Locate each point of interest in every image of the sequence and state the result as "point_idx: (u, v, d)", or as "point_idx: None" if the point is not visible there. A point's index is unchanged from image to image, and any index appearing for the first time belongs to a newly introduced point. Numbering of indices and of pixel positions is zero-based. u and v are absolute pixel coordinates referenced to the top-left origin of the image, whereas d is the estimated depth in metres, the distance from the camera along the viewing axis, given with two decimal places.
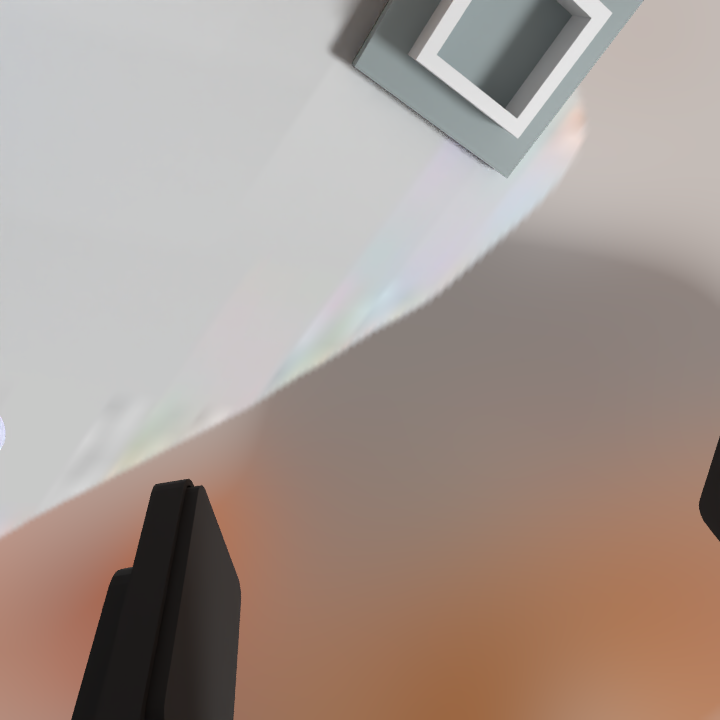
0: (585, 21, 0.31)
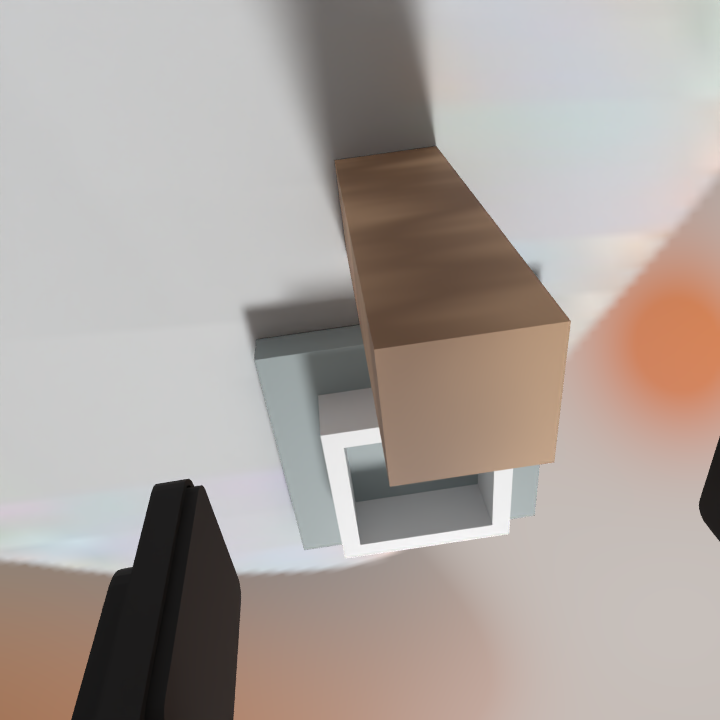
0: (485, 518, 0.26)
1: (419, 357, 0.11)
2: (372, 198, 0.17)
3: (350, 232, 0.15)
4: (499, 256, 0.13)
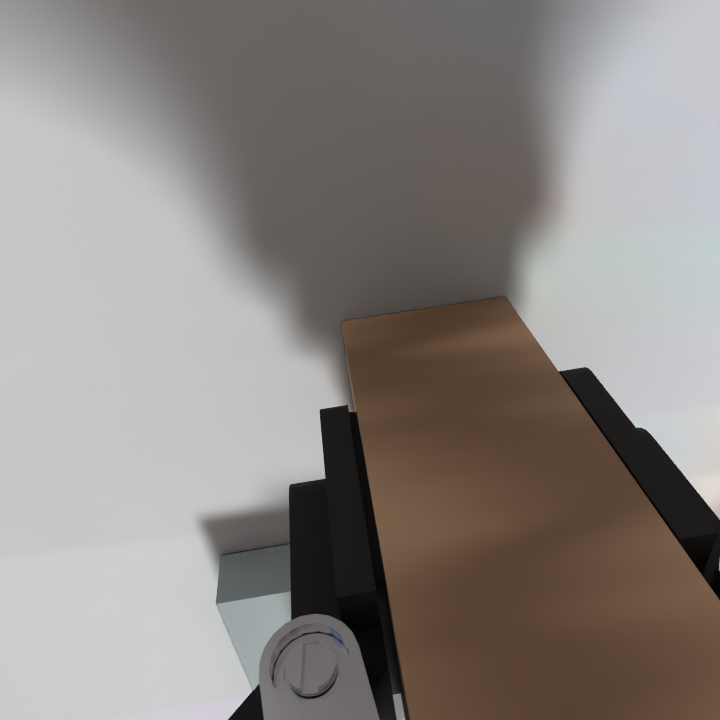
0: None
1: None
2: (418, 448, 0.09)
3: (388, 584, 0.07)
4: None
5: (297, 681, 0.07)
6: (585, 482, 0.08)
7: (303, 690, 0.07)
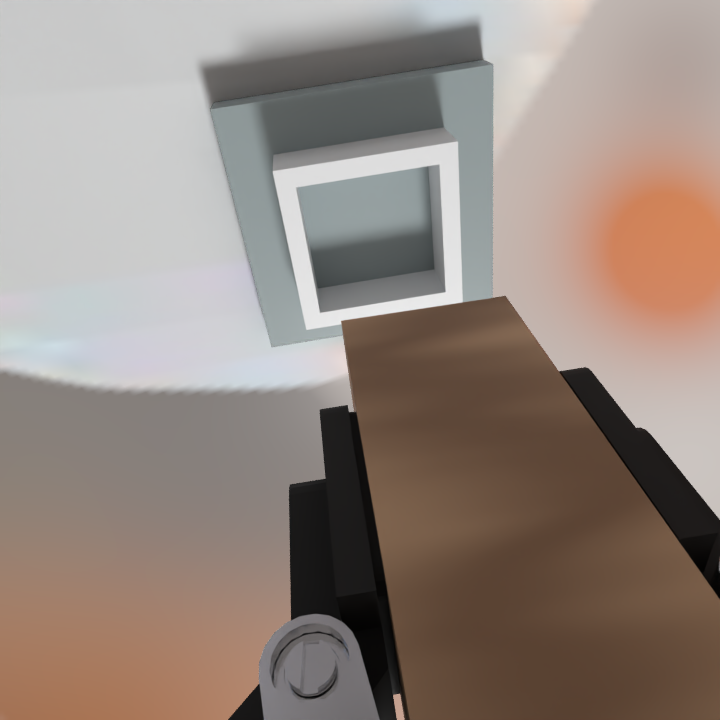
0: (439, 288, 0.28)
1: None
2: (419, 447, 0.09)
3: (388, 583, 0.07)
4: None
5: (297, 681, 0.07)
6: (585, 482, 0.08)
7: (303, 690, 0.07)
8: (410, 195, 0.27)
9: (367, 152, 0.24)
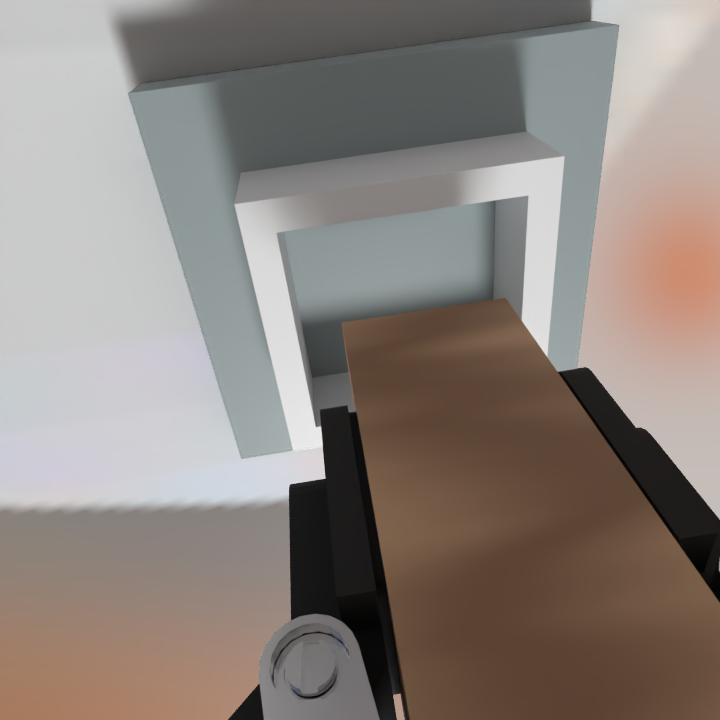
0: None
1: None
2: (419, 450, 0.09)
3: (389, 586, 0.07)
4: None
5: (297, 681, 0.07)
6: (585, 484, 0.08)
7: (303, 691, 0.07)
8: (463, 240, 0.17)
9: (403, 172, 0.14)
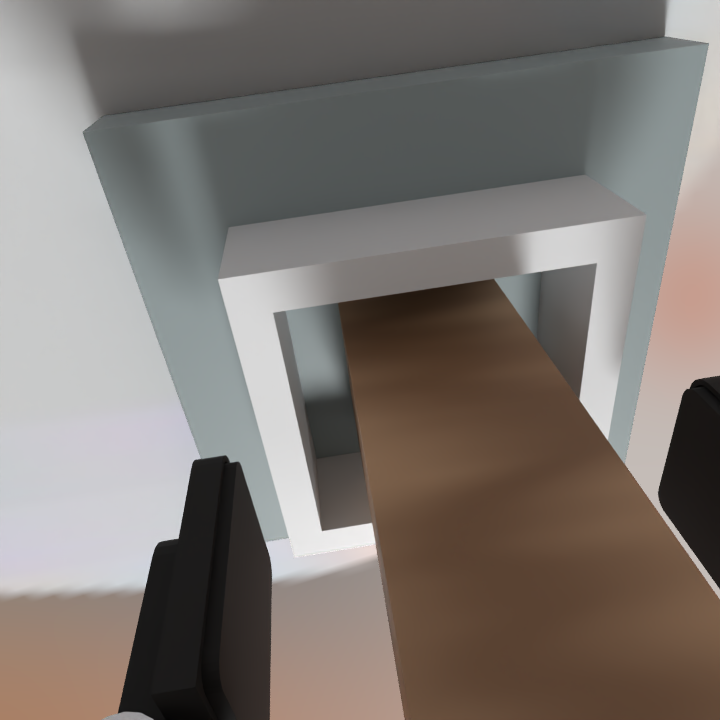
0: None
1: None
2: (407, 407, 0.10)
3: (377, 519, 0.08)
4: (719, 666, 0.06)
5: None
6: (557, 434, 0.09)
7: None
8: None
9: (436, 234, 0.11)
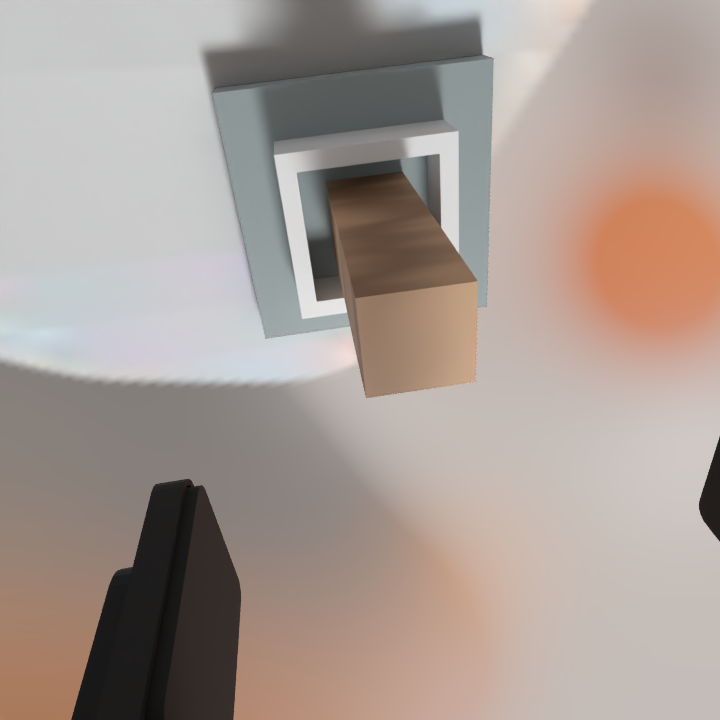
0: None
1: (383, 304, 0.17)
2: (353, 208, 0.23)
3: (338, 231, 0.21)
4: (439, 245, 0.19)
5: None
6: (411, 211, 0.22)
7: None
8: None
9: (368, 139, 0.24)
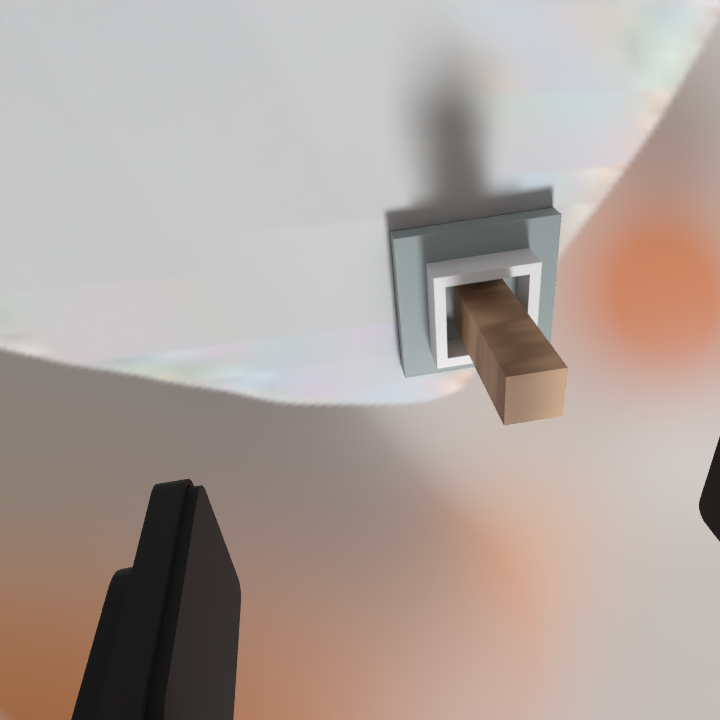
0: None
1: (519, 379, 0.33)
2: (481, 310, 0.40)
3: (479, 328, 0.38)
4: (541, 342, 0.36)
5: None
6: (517, 314, 0.39)
7: None
8: None
9: (487, 266, 0.40)
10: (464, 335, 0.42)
